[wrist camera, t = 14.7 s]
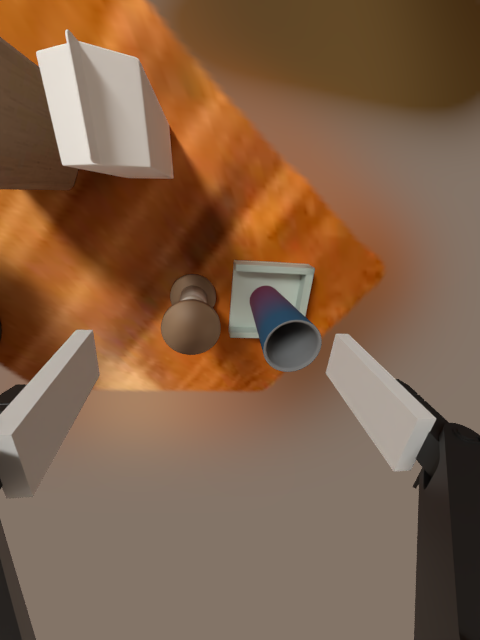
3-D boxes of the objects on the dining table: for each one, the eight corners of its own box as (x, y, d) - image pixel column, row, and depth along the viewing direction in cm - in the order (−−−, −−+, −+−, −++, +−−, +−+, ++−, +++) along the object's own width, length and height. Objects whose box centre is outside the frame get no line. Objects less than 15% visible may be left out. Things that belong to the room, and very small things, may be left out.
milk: (127, 178, 36) (34, 163, 16) (119, 121, 33) (-5, 20, 13) (175, 178, 36) (142, 164, 17) (170, 123, 34) (125, 29, 14)
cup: (237, 311, 45) (253, 363, 31) (254, 273, 42) (279, 311, 29) (274, 324, 47) (304, 377, 33) (292, 288, 44) (332, 330, 31)
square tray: (228, 329, 47) (230, 337, 44) (233, 259, 42) (235, 264, 39) (295, 331, 49) (300, 338, 46) (308, 264, 44) (314, 268, 41)
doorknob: (171, 315, 44) (161, 354, 34) (170, 272, 41) (160, 301, 31) (214, 316, 45) (219, 354, 35) (216, 275, 43) (222, 303, 32)
